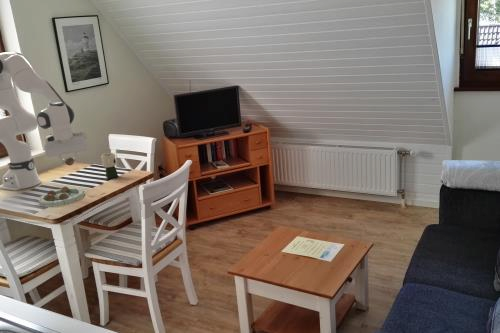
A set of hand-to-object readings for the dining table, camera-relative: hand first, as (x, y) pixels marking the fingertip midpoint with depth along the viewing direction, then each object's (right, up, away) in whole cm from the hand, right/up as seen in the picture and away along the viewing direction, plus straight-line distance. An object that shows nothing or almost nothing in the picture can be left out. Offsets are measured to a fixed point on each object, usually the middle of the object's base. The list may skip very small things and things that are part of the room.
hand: (69, 162), depth 258 cm
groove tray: (-2, -19, -4) cm, 19 cm away
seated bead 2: (-6, -19, -8) cm, 22 cm away
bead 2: (0, -2, +1) cm, 2 cm away
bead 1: (-3, -16, +2) cm, 16 cm away
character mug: (+15, -8, +25) cm, 30 cm away
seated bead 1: (-8, -18, -2) cm, 20 cm away
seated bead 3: (0, -19, -9) cm, 21 cm away
